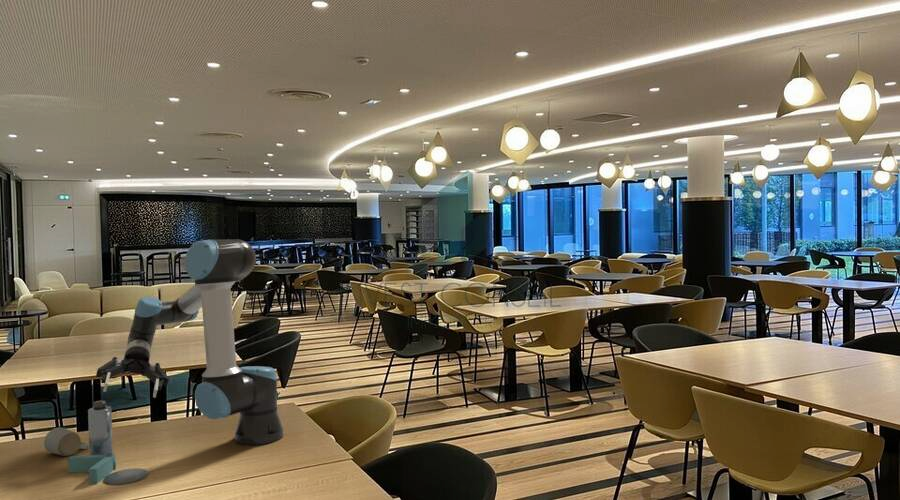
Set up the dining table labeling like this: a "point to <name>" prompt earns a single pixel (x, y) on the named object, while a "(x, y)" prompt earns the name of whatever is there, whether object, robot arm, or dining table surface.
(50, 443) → the ceramic mug
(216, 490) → the dining table surface
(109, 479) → the coaster
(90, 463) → the bent rail
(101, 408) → the bottle
